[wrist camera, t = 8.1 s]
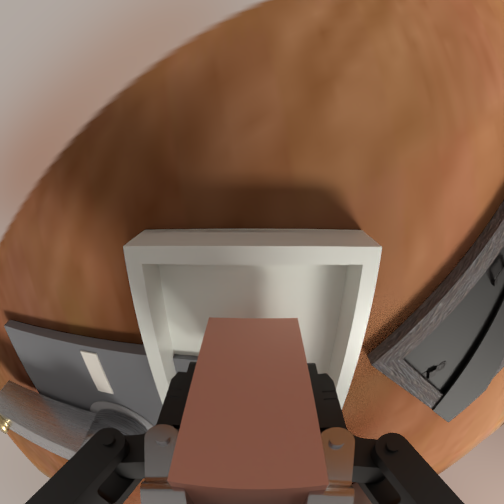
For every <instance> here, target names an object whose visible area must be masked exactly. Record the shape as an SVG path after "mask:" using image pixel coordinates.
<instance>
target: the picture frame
mask: <svg viewBox="0 0 504 504" xmlns="http://www.w3.org/2000/svg"><path fill="white" fill-rule="evenodd" d="M367 356H368V358H369V361H370V363H371V365H372V366H374V367H375V368H376V369H378V370H379V371H380V372H382V373H383V374H384V375H386V376H387V377H389V378H390V379H391V380H393V381H394V382H395V383H397V384H398V385H399V386H401V387H402V388H404V389H405V390H406V391H408V392H409V393H410V394H412V395H413V396H415V397H416V398H417V399H419V400H420V401H422V402H423V403H424V404H426V405H427V406H429V407H430V408H431V409H432V410H433V411H434V412H435V413H437V414H438V415H439V416H441V417H442V418H443V419H445V420H446V421H447V422H450V421H451V420H452V419H453V418H455V417H456V416H457V415H458V414H459V413H461V412H462V411H463V410H464V409H465V408H466V407H468V406H469V405H470V404H471V403H472V402H473V401H474V400H475V399H477V398H478V397H479V396H480V395H481V394H482V393H483V392H484V391H485V390H486V389H487V387H488V385H489V384H490V382H491V380H492V379H493V378H494V377H495V376H496V374H497V373H498V372H499V371H500V370H501V369H502V368H503V367H504V200H503V202H502V204H501V205H500V207H499V208H498V210H497V211H496V213H495V214H494V216H493V217H492V219H491V220H490V222H489V223H488V225H487V226H486V228H485V229H484V230H483V232H482V233H481V235H480V236H479V237H478V239H477V240H476V241H475V243H474V244H473V245H472V247H471V248H470V249H469V251H468V252H467V253H466V254H465V256H464V257H463V258H462V259H461V261H460V262H459V263H458V264H457V266H456V267H455V268H454V269H453V270H452V271H451V273H450V274H449V275H448V276H447V277H446V278H445V280H444V281H443V282H442V283H441V284H440V285H439V286H438V287H437V289H436V290H435V291H434V292H433V293H432V294H431V295H430V296H429V297H428V298H427V299H426V300H425V301H424V302H423V304H422V305H421V306H420V307H419V308H418V309H417V310H416V311H415V312H414V313H413V314H412V315H411V316H410V317H409V318H408V319H407V320H406V321H404V322H403V323H402V324H401V325H400V326H399V327H398V328H397V329H396V330H395V331H394V332H393V333H392V334H391V335H390V336H388V337H387V338H386V339H385V340H384V341H383V342H382V343H381V344H379V345H378V346H377V347H376V348H375V349H374V350H372V351H371V352H370V353H369V354H368V355H367Z"/></svg>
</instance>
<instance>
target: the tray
mask: <svg viewBox="0 0 504 504" xmlns="http://www.w3.org/2000/svg"><path fill="white" fill-rule="evenodd" d="M123 249H124V256H125V262H126V268H127V273H128V279H129V284H130V289H131V294H132V298H133V303H134V308H135V312H136V316H137V320H138V325H139V329H140V332H141V336H142V340H143V344H144V348H145V351H146V355H147V358H148V362H149V365H150V368H151V371H152V375H153V378H154V381H155V384H156V387H157V390H158V393H159V396H160V399H161V402H162V404H163V403H164V400H165V397H166V394H167V391H168V389H169V385H170V382H171V379H172V378H173V377H174V376H175V375H176V370H175V366H174V362H173V356H174V354H179V355H192V356H198V355H199V352H200V348H201V344H202V341H203V337H204V333H205V330H206V326H207V323H208V319H209V317H213V318H298V322H299V327H300V332H301V336H302V341H303V346H304V351H305V355H306V360H307V363H315V364H316V368H317V372H318V374H323V373H327V374H328V375H329V376H330V378H331V379H332V380H333V381H334V384H335V388H336V392H337V395H338V399H339V403H340V406H341V410H342V408H343V405H344V402H345V399H346V396H347V393H348V390H349V387H350V384H351V381H352V378H353V375H354V371H355V368H356V365H357V361H358V358H359V354H360V351H361V347H362V343H363V339H364V335H365V332H366V327H367V323H368V319H369V315H370V310H371V306H372V301H373V296H374V291H375V286H376V281H377V275H378V270H379V264H380V258H381V251H382V246H381V245H379V244H378V243H377V242H376V241H375V240H373V239H372V238H371V237H370V236H368V235H367V234H366V233H365V232H364V231H362V230H339V229H154V230H144V231H142V232H141V233H140V234H138V235H137V236H136V237H134V238H133V239H132V240H130V241H129V242H128V243H127V244H125V245H124V246H123Z"/></svg>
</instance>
